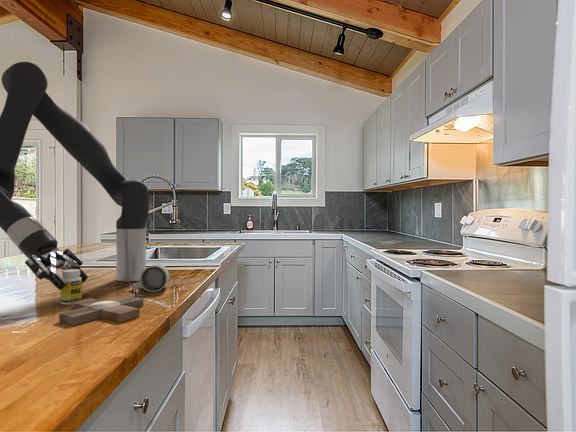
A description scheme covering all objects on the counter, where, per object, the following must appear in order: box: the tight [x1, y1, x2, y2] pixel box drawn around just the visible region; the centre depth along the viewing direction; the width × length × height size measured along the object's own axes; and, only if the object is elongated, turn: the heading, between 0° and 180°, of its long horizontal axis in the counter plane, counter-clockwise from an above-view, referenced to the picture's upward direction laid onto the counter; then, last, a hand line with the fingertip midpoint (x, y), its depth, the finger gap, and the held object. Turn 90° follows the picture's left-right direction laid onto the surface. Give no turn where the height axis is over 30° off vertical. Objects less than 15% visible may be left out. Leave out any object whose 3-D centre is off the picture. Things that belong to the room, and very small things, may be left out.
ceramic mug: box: [130, 263, 170, 293], centre depth 112 cm, size 11×8×8 cm
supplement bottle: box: [60, 269, 83, 306], centre depth 97 cm, size 5×5×8 cm
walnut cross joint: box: [58, 295, 145, 326], centre depth 88 cm, size 18×18×2 cm
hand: (74, 283), depth 96 cm, fingers open, 8 cm apart
